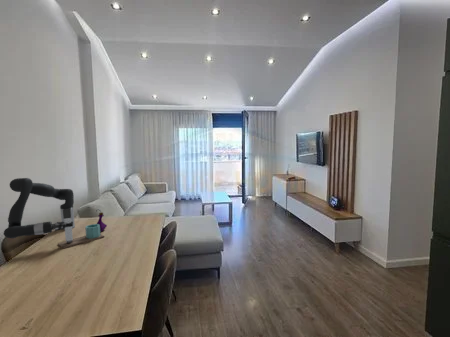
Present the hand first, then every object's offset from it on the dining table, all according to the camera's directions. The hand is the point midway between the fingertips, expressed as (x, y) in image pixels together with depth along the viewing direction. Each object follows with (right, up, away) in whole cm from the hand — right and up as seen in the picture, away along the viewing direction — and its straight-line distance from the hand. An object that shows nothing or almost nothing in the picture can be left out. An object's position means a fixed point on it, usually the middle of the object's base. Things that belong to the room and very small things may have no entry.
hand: (72, 223), depth 180 cm
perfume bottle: (+6, -12, +27) cm, 30 cm away
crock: (+9, -12, +12) cm, 19 cm away
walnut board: (+3, -14, +6) cm, 15 cm away
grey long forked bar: (-2, -13, 0) cm, 13 cm away
